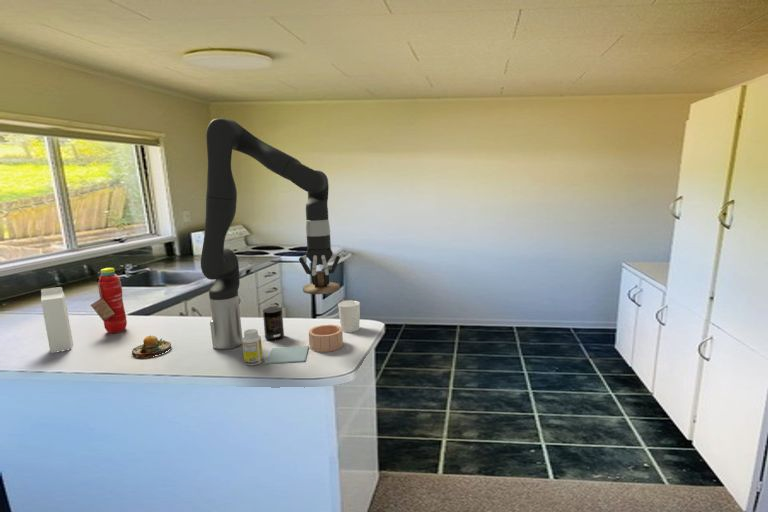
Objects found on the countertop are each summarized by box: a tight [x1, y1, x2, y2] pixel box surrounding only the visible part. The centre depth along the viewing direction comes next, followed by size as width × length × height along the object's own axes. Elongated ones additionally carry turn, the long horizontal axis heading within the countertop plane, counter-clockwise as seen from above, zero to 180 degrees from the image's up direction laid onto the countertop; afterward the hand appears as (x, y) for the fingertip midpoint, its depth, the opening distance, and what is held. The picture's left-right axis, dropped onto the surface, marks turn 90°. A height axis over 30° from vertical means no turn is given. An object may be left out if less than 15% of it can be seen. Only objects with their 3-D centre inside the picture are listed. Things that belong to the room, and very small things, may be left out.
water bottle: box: [90, 267, 128, 334], centre depth 170 cm, size 12×8×25 cm, turn 164°
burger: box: [131, 335, 172, 359], centre depth 150 cm, size 12×12×8 cm
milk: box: [40, 286, 74, 354], centre depth 155 cm, size 6×6×22 cm
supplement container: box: [262, 306, 285, 342], centre depth 159 cm, size 7×7×10 cm
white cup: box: [337, 300, 361, 333], centre depth 165 cm, size 8×8×10 cm
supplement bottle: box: [242, 328, 264, 366], centre depth 138 cm, size 6×6×10 cm
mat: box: [265, 345, 310, 365], centre depth 143 cm, size 12×12×1 cm
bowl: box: [308, 324, 344, 353], centre depth 150 cm, size 11×11×6 cm
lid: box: [302, 270, 341, 295], centre depth 146 cm, size 12×12×6 cm
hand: (321, 285), depth 146 cm, fingers closed on lid, 2 cm apart
